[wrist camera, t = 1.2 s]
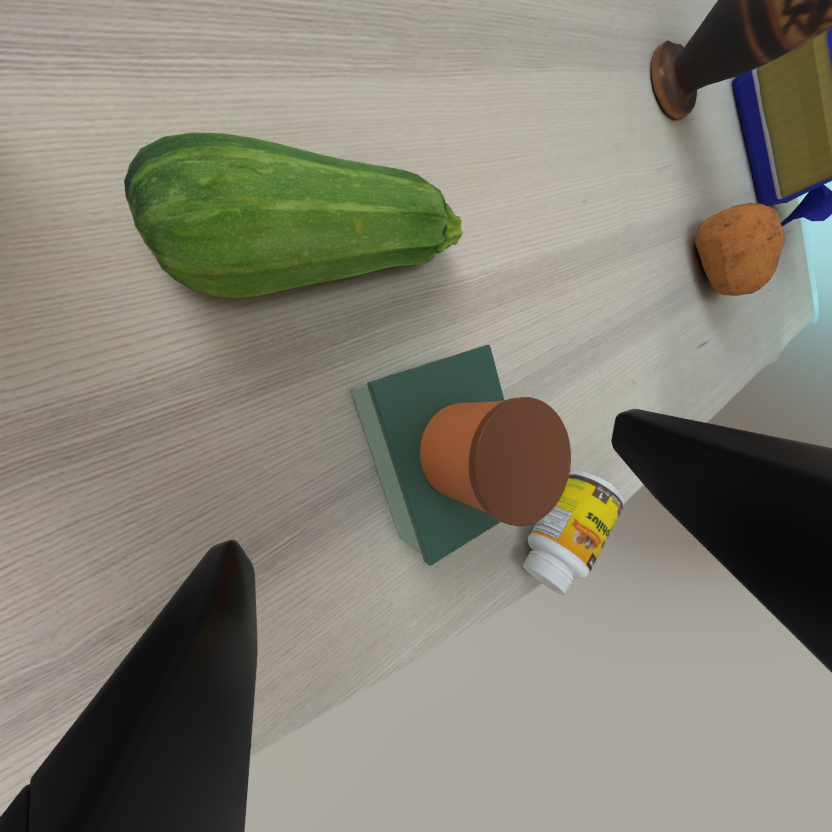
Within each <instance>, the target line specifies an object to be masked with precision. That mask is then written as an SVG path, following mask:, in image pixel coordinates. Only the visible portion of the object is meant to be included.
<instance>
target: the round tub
mask: <svg viewBox="0 0 832 832" xmlns="http://www.w3.org/2000/svg"><path fill="white" fill-rule="evenodd" d="M420 460H421V466H422V469H423V472H424V475H425V477H426V479H427V480H428V482H429V483H430V485H431V486H432V487H433V488H434V489H435V490H436V491H438V492H439V493H441V494H442V495H444V496H447V497H449V498H452V499H454V500H457V501H459V502H462V503H464V504H467V505H469V506H472V507H474V508H477V509H479V510H482V511H484V512H487V513H488V514H489V515H490V516H492V517H493V518H495V519H497V520H499V521H501V522H503V523H506V524H509V525H514V526H525V525H530V524H533V523H535V522H537V521H539V520H541V519H542V518H544V517H545V516H546V515H548V514H549V513H550V512H551V511H552V510H553V508H554V507H555V506H556V504H557V503H558V501H559V500H560V498H561V496H562V494H563V492H564V490H565V487H566V485H567V481H568V477H569V472H570V464H571V450H570V443H569V438H568V434H567V431H566V429H565V426H564V424H563V422H562V420H561V419H560V417H559V416H558V414H557V413H556V412H555V411H554V410H553V409H552V408H551V407H550V406H549V405H547V404H546V403H544V402H542V401H540V400H538V399H535V398H530V397H520V398H511V399H508V400H505V401H494V402H472V403H457V404H452V405H449V406H447V407H445V408H443V409H442V410H440V411H439V412H438V413H437V414H435V415H434V417H433V418H432V419H431V420H430V422H429V423H428V425H427V427H426V429H425V431H424V433H423V436H422V440H421V446H420Z"/></svg>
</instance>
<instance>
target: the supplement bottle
mask: <svg viewBox="0 0 832 832" xmlns="http://www.w3.org/2000/svg"><path fill="white" fill-rule="evenodd" d="M623 507H624V499H623V497H622V495H621V494H620V492H619V491H618V490H617V489H616V488H615V487H614V486H612V485H611V484H610V483H608V482H607V481H605V480H603V479H602V478H600V477H598V476H595V475H593V474H590V473H586V472H582V471H573V472H569V477H568V481H567V485H566V487H565V490H564V492H563V494H562V496H561V498H560V500H559V501H558V503H557V504H556V506H555V507H554V508H553V510H552V511H551V512H550V513H549V514H548V515H546V516H545V517H544V518H542V519H541V520H539V521H537V523H536V524H535V526H534V528H533V529H532V531H531V533H530V534H529V536H528V544H529V546H530V547H531V549H532V550H533V551H530V553H529V554H528V556H527V558H526V560H525V562H524V564H523V567H524V568H525V569H526V570H527V571H528V572H529V573H530V574H531V575H532V576H533V577H534V578H536V579H537V580H538V581H540V582H541V583H543V584H544V585H546V586H547V587H549V588H550V589H552V590H554V591H556V592H557V593H559V594H562V595H565V594H566V593H567V591H568V589H569V587H570V586H571V585H572V582H573V577H574V578H578V579H583V578H586V577H587V576H588V574H589V573H590V571H591V569H592V567H593V565H594V563H595V561H596V559H597V557H598V555H599V553H600V552H601V550H602V548H603V546H604V544H605V542H606V540H607V538H608V536H609V534H610V532H611V530H612V528H613V527H614V525H615V523H616V521H617V519H618V517H619V515H620V513H621V511H622V509H623Z"/></svg>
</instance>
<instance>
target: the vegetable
mask: <svg viewBox="0 0 832 832" xmlns="http://www.w3.org/2000/svg"><path fill="white" fill-rule="evenodd" d="M124 183H125V194H126V199H127V201H128V204H129V208H130V211H131V213H132V216H133V219H134V223H135V226H136V228H137V230H138V231H139V233H140V235H141V236H142V238H143V240H144V242H145V243H146V245H147V246H148V247H149V249H150V250H151V252H152V254H153V255H154V256H155V257H156V259H157V261H158V262H159V264H160V266H161V268H162V269H164V270H165V271H166V272H167V273H168V274H169V275H170V276H171V277H173V278H174V279H175V280H176V281H178V282H180V283H182V284H183V285H185V286H187V287H189V288H190V289H192V290H194V291H197V292H201V293H205V294H208V295H212V296H216V297H230V298H245V297H253V296H260V295H266V294H271V293H275V292H279V291H283V290H287V289H291V288H296V287H300V286H305V285H310V284H316V283H321V282H327V281H332V280H337V279H343V278H347V277H352V276H357V275H361V274H365V273H369V272H373V271H377V270H380V269H384V268H388V267H394V266H401V265H416V264H424V263H427V262H429V261H430V260H431V259H432V258H433V257H434V254H435V253H439V252H441V251H443V250H444V249H446V248H448V247H449V246H451V245H456V244H457V243H458V240H459V238H461V236H462V234H463V232H462V230H461V219H460V217H458V216H456V215H455V214H454V213H453V211H452V210H451V208H450V207H449V205H448V204H446V203H445V200H444V197H443V195H442V193H441V191H440V190H439V189H437V188H436V187H435V186H433V185H431V184H429V183H428V182H427V181H426V180H424V179H423V178H422V177H420V176H419V175H417V174H414V173H411V172H408V171H404V170H399V169H394V168H389V167H383V166H376V165H371V164H366V163H361V162H355V161H349V160H343V159H338V158H333V157H329V156H324V155H320V154H316V153H312V152H308V151H305V150H301V149H297V148H293V147H289V146H285V145H281V144H278V143H273V142H269V141H264V140H259V139H255V138H250V137H243V136H236V135H229V134H221V133H187V134H180V135H174V136H167V137H163V138H161V139H159V140H157V141H155V142H153V143H151V144H149V145H147V146H145V147H143V148H141V149H140V151H139V152H138V154H137V155H136V156H135V158H134V159H133V161H132V162H131V164H130V165H129V169H128V173H127V175H126V177H125V180H124Z"/></svg>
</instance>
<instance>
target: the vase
mask: <svg viewBox="0 0 832 832" xmlns="http://www.w3.org/2000/svg"><path fill="white" fill-rule="evenodd" d="M831 28H832V0H718V1H717V3H716V4H715V5H714V7H713V8H712V10H711V11H710V12H709V14H708V15H707V17H706V18H705V19H704V21H703V22H702V24H701V25H700V27H699V28H698V29H697V31H696V32H695V34H694V35H693V36H692V38H691V39H690V40H689V42H688V43H687V45H686V46H685V47H683V46H682V45H681V44H675V43H672V42H670V41H666V42H664V43H663V44H661V45H660V46H658V48H657V49H656V51H655V52H654V55H653V59H652V79H653V86H654V90H655V94H656V96H657V99H658V101H659V104H660V106H661V107H662V109H663V110H664V111H665V113H666V114H667V115H668V116H670V117H672V118H673V119H675V120H677V119H682V118H684V117H685V116H686V115H687V114H688V113H690V112H691V110H692V109H693V107H694V106H695V102H696V97H697V89H699V88H702V87H704V86H707V85H710V84H713V83H716V82H720V81H723V80H726V79H729V78H732V77H735V76H738V75H741V74H744V73H746V72H749V71H752V70H754V69H756V68H759V67H761V66H763V65H765V64H767V63H769V62H771V61H774V60H776V59H778V58H779V57H781V56H783V55H785V54H787V53H789V52H790V51H792V50H794V49H796V48H798V47H801V46H802V45H804V44H805V43H807V42H809V41H811V40H813V39H814V38H816V37H818V36H819V35H821V34H823V33H824V32H826V31H828V30H829V29H831Z"/></svg>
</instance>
